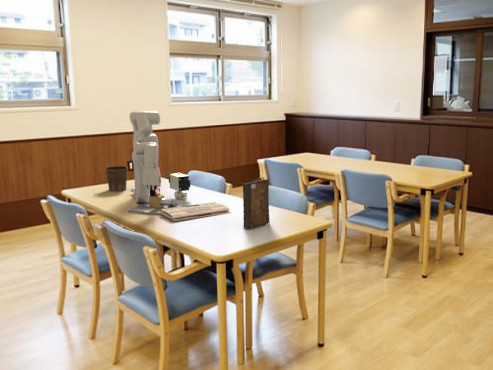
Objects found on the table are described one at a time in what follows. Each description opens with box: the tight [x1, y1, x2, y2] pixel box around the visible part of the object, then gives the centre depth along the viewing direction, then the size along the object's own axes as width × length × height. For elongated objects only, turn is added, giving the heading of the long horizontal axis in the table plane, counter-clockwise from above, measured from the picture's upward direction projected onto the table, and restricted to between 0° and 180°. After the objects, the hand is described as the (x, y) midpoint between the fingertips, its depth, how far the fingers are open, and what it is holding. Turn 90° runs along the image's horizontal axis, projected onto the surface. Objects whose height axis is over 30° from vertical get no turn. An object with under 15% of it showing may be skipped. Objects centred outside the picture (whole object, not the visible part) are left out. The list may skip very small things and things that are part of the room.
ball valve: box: [168, 171, 191, 200], centre depth 321 cm, size 18×8×18 cm, turn 36°
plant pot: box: [104, 165, 129, 192], centre depth 350 cm, size 16×16×16 cm
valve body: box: [135, 194, 179, 209], centre depth 295 cm, size 25×6×9 cm, turn 71°
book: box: [242, 177, 270, 230], centre depth 257 cm, size 17×7×25 cm, turn 133°
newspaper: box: [160, 201, 231, 222], centre depth 284 cm, size 37×19×3 cm, turn 124°
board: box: [127, 203, 186, 216], centre depth 295 cm, size 26×25×1 cm
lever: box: [155, 187, 161, 196], centre depth 288 cm, size 16×4×2 cm, turn 16°
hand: (152, 196), depth 284 cm, fingers closed
